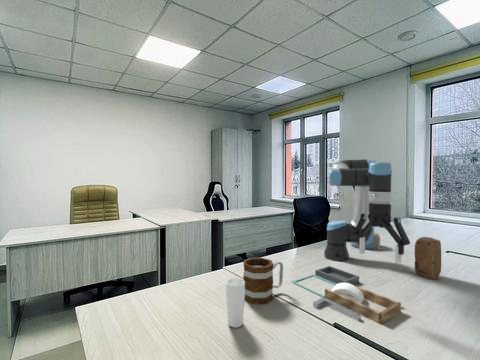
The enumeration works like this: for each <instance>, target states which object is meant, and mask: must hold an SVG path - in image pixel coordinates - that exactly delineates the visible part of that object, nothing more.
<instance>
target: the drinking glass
mask: <svg viewBox="0 0 480 360" xmlns="http://www.w3.org/2000/svg"><path fill="white" fill-rule="evenodd" d="M225 297H226V300H225V301H226V307H227V308H226V310H227V324H228V326H229V327H231V328H234V329H235V328H241V327H242V326H243V325H244V312H245V302H246V301H245V281H244V280H243V278H237V277H235V278H234V277H233V278H230V279H228V280H226V282H225Z"/></svg>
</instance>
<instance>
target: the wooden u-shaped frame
mask: <svg viewBox="0 0 480 360" xmlns="http://www.w3.org/2000/svg"><path fill="white" fill-rule="evenodd" d="M343 283H347V282H343ZM349 284H350V283H349ZM351 285H353V284H351ZM353 286H355V287H357V288H358V289H359V290H360V291H361V292H362V293H363V295H364V299H365V300H367V301H369V302H372V303H374V304H376V305H379V306H382V307H384V308H385V309H383V310H382V311H378V310H377V309H374V308H372V307H370V306H367V305H365V304H363V303H362V304H361V303H358V302H356V301H354V300H352V299H349V298H347V297H345V296H343V295H340V294H338V293H336V292H333V291H331V290H332V289H329V288H324V296H325V297H324V298H326V299H328V300H330V301H333V302H335V303H337V304H339V305H341V306H343V307H347V308H349V309H351V310H352V311H354V312H357V313H359V314H361V316H363V317H365V318H368V319H369V318H370V320H371V319H372V321H373V320H374V322H376V323H378V324H379V325H384V324H385V323H387V322H388V321H390V320H391V319H393V318H394V317H396V316H397V315H399V314H401V313H402V303H401V302H399V301H396V300H393V299H391V298H389V297H386V296H384V295H381V294H379V293H375V292H373V291H371V290H367V289H365V288H363V287H360V286H358V285H356V284H354V285H353Z"/></svg>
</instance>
